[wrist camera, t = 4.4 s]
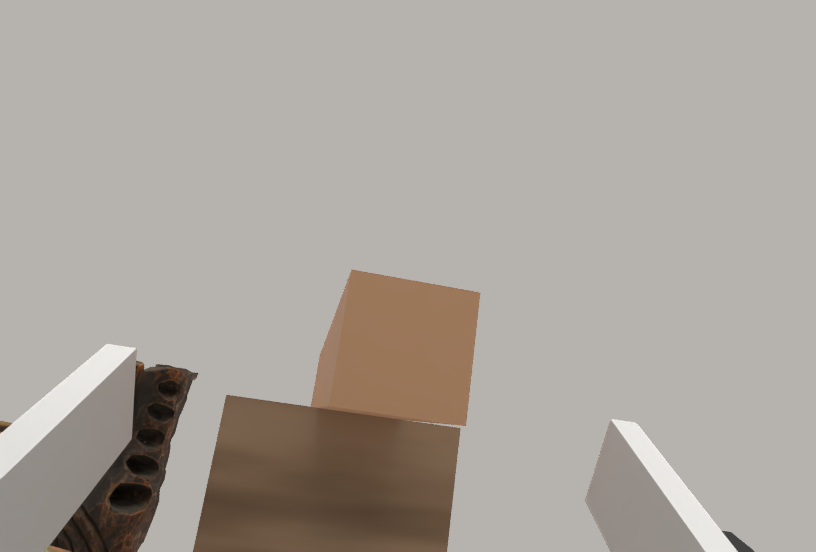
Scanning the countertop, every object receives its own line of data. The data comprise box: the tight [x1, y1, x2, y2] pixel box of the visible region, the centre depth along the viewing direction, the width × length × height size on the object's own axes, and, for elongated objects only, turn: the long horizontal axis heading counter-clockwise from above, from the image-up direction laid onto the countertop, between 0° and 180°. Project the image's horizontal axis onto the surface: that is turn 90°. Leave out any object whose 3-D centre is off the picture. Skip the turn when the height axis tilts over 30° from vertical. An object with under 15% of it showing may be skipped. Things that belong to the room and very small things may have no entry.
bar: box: [311, 270, 480, 426], centre depth 27 cm, size 25×4×4 cm, turn 10°
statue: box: [50, 361, 198, 552], centre depth 46 cm, size 10×10×30 cm
